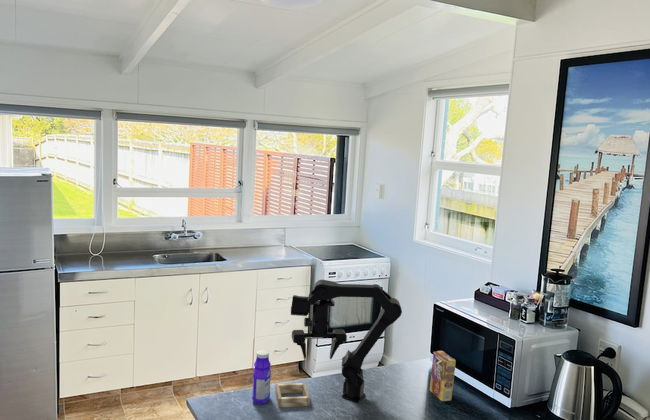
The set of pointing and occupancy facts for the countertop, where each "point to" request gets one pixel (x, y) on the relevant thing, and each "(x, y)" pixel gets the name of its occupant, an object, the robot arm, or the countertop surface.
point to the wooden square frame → (292, 400)
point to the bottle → (261, 378)
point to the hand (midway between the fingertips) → (317, 359)
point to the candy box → (442, 375)
